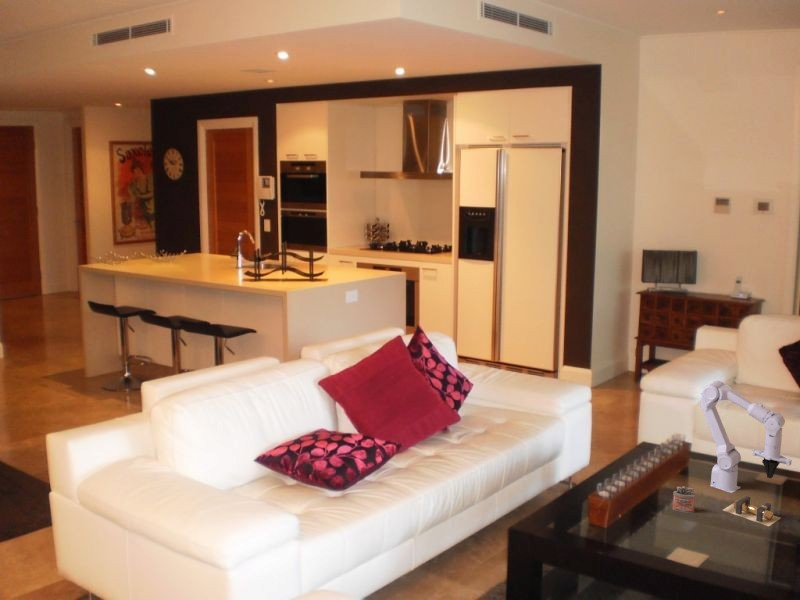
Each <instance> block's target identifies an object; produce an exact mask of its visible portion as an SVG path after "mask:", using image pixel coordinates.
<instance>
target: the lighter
mask: <svg viewBox="0 0 800 600" xmlns="http://www.w3.org/2000/svg"><path fill="white" fill-rule="evenodd" d="M695 499H696V494H695V488H691V487H686V486H676V490H674V491H673V501H672V510H673V511H676V512H680V513H688V514H694V513H695V511H696V510H695V506H696V505H695V504H696V502H695V501H696V500H695Z"/></svg>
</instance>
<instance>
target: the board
mask: <svg viewBox="0 0 800 600" xmlns="http://www.w3.org/2000/svg"><path fill="white" fill-rule="evenodd" d="M743 503H747V504H750V505H751V496H748V495H746V496H744V497H742V498H741V499H739V500H738V501H737V502H736V508H734V502H733V503H732V504H730V505H727V506H726V507H725V508H724V509H722V511H724V512H726V513H728V514H729V513H730V514H732V515H734V516H738V517H741V518H744V519H747V520H749V521H752V522H755V523H758V524H761V525H764V526H767V527H770V526H772V525H773V524H775V523H776V522H777V521H779V520H780V519H781V517H780V516H777V515H774V514H773V518H772V519H771V520H769V519H766V518H763V511H764V510H768V511H771V509H772V508H771V506H772V504H771V503H770V502H765V503H764V504H763V505H761V506H759V508H758V509H757V515H755V514H752V513H749V512H746V511H743V510H742V504H743Z"/></svg>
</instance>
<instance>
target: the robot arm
mask: <svg viewBox="0 0 800 600" xmlns="http://www.w3.org/2000/svg"><path fill="white" fill-rule="evenodd" d="M700 394H701V398H700V399H701V400H700V408H701V411H702V413H703V416H704V418H705V421H706V424H707V425H708V429H709V430H710V433H711V435H712V439H713V440H714V443H715V446H716V453H715V454H716V456H717V459H716V460H717V461H716V462H717V463H715V464H714V466H713V467H712V470H711V475H710V477H711V478H710V485H709V486H710V487H712V488H716V489H719V490H722V491H723V492H727V493H730V494H733V493H734V492H736V491H737V490H740V489H741V486H738V473H739V465H738V464H739V463H740V462H741V460H742V459H741V458H742V455H741V453H740V452H739V451H738V450H737V449H736V447H735V445H734V444H733V443H732V442H730V439H729V436H728V433H727V432H726V429H725V427H724V424H723V422H722V419H721V417H720V414H719V412H718V410H717V407H716V406H717V404H718V402H719V401H730V402H732V403H734V404H735V405H737V406H740V408H742V409H744V410H746V411H747V413H748V416H750V417H752V418H754V419H755V420H757V421H758V422H760V423H761V424H762V425H764V427H765V428H766V431H765V438H764V439H765V441H764V450H758V449H754V450H752V453H751V454H752V456H755V457H760V458H763V459H762V461H761V462H762V464H763V467H764V468H765V472H766V477H767V479H772V478H773V477H774V474H775V471H776V470H777V467H778V466H779V465H780V464H783V465H786V466H788V467H789V466H791V465H792V462H793V461H792V459H789V458H788V457H786V456H783V455H781V448H782V437H783V427H784V426H785V423H786V420H785V417H784V416H783V415H782V414H781V413H780V412H775V411H773V410H772V411H771V410H770V409H768V408H766V406H764V404H763V403H761V402H752V401H750V400H749V399H747V398H745V396H742V394H740V393H738V391H736V390H734V389H733V388H732V387H730V385H729V384H727V383H724V382H723V381H721V380H715V381H713V382H712V383H710V384H709V385H707V386H705V387H704V388H703V389H702V391H701V393H700Z"/></svg>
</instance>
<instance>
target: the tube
mask: <svg viewBox="0 0 800 600" xmlns="http://www.w3.org/2000/svg"><path fill="white" fill-rule="evenodd" d="M737 501H739V500H737V499H735V500H734V502H733V503H734V508H736V502H737ZM758 508H760V506H755V505H752V504H751V503H750V504H747V503H743V504H742V510H743V511H746V512H749V513H752V514H755V515H757V509H758ZM773 515H774V512H773V511H771V510H770V511H768V510H764V511H763V518H766V519H769V520H771V519H772V518H773Z"/></svg>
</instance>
